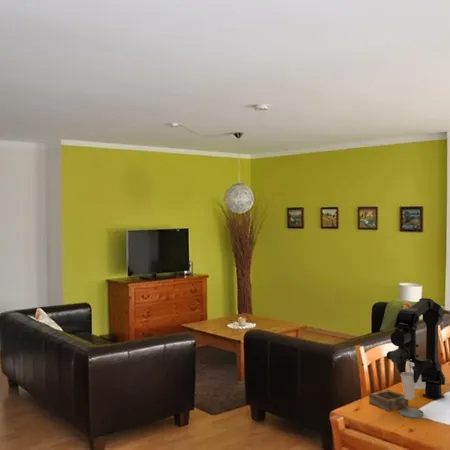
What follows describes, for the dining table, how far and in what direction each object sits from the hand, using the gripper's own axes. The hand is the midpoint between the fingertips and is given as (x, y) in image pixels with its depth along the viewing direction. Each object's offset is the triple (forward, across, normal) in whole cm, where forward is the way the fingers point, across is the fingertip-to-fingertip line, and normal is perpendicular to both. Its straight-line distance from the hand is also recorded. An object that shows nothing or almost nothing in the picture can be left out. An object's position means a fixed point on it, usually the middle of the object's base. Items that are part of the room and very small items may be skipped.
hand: (408, 380), depth 215 cm
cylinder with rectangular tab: (+13, -22, +30) cm, 39 cm away
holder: (+13, -11, 0) cm, 17 cm away
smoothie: (+7, 0, 0) cm, 7 cm away
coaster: (+13, +1, 0) cm, 13 cm away
